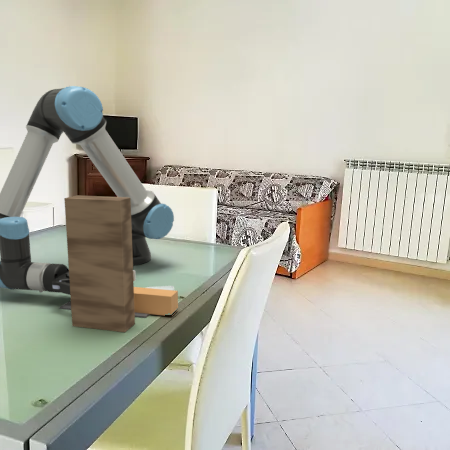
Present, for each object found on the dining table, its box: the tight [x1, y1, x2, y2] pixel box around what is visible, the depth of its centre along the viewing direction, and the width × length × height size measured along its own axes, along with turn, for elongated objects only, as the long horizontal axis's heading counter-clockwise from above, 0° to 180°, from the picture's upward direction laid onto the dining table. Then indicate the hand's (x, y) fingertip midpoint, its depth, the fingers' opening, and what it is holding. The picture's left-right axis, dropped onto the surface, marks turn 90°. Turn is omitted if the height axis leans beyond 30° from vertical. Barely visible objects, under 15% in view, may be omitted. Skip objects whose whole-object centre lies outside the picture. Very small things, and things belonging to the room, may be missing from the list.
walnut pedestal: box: [64, 195, 136, 333], centre depth 106 cm, size 5×14×30 cm, turn 75°
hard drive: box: [145, 285, 176, 291], centre depth 129 cm, size 2×8×12 cm
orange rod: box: [134, 286, 179, 316], centre depth 118 cm, size 4×22×5 cm, turn 76°
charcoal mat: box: [58, 300, 151, 319], centre depth 120 cm, size 8×24×1 cm, turn 75°
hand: (125, 282), depth 119 cm, fingers open, 11 cm apart
